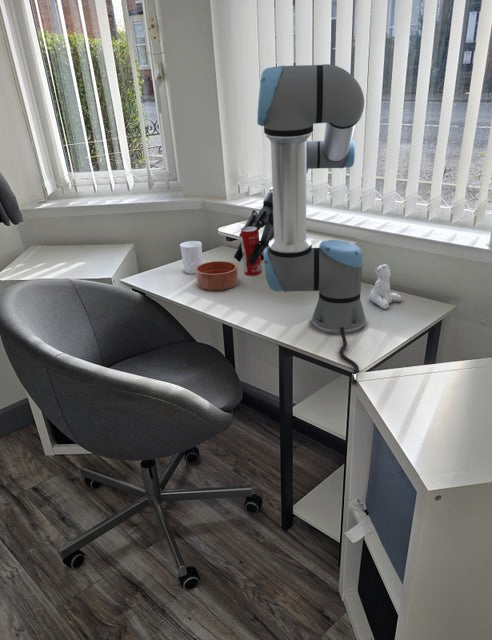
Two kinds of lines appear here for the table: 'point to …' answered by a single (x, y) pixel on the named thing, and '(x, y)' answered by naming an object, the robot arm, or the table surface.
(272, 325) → the table surface
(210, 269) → the bowl
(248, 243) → the beverage can
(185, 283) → the table surface
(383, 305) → the sitting furry creature
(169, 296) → the table surface
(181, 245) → the white cup
